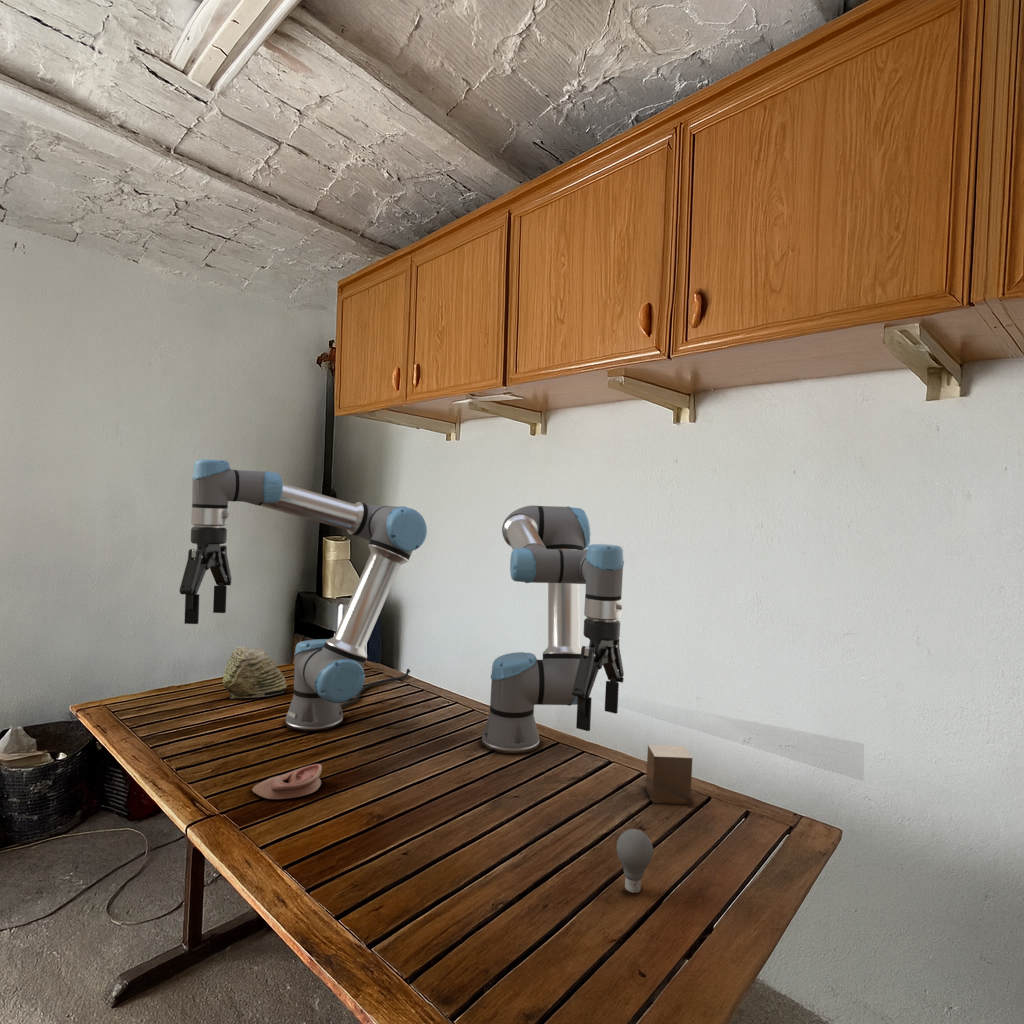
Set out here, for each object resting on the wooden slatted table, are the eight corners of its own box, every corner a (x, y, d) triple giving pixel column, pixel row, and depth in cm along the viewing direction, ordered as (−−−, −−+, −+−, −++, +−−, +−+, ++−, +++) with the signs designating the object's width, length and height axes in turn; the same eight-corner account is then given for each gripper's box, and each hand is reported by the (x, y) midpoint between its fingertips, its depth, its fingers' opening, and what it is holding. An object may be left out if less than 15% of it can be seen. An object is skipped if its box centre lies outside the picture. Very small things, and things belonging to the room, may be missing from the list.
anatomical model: (244, 776, 132) (275, 755, 144) (243, 795, 132) (274, 772, 144) (301, 785, 130) (329, 762, 141) (301, 804, 130) (328, 780, 141)
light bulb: (610, 879, 108) (613, 822, 108) (644, 879, 109) (647, 822, 109) (619, 902, 102) (622, 840, 102) (655, 901, 103) (658, 840, 103)
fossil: (218, 695, 195) (220, 647, 195) (278, 685, 208) (279, 640, 207) (228, 703, 189) (230, 653, 188) (289, 692, 201) (290, 645, 201)
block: (652, 802, 138) (654, 756, 137) (645, 789, 144) (647, 744, 144) (690, 804, 138) (692, 757, 138) (682, 790, 144) (684, 746, 144)
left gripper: (199, 529, 134) (195, 629, 134) (247, 525, 159) (244, 609, 159) (163, 528, 134) (160, 628, 134) (217, 523, 159) (214, 608, 159)
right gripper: (592, 630, 119) (587, 742, 119) (641, 613, 140) (637, 709, 140) (557, 624, 123) (552, 732, 124) (610, 609, 144) (605, 702, 145)
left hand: (206, 618), depth 147 cm, fingers open, 13 cm apart
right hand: (597, 720), depth 132 cm, fingers open, 13 cm apart
